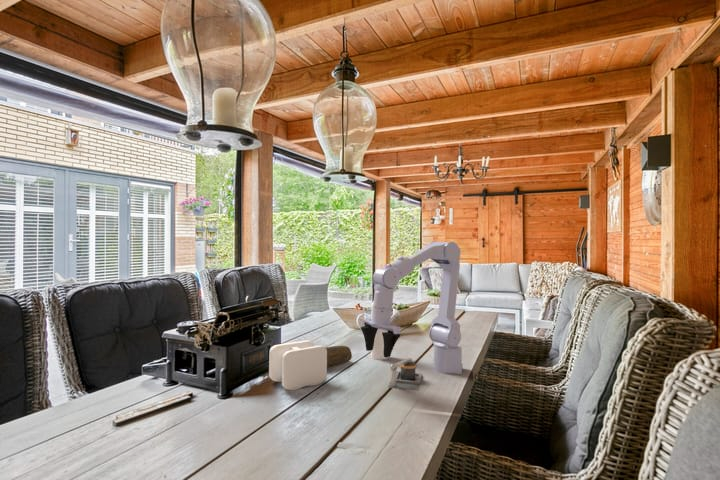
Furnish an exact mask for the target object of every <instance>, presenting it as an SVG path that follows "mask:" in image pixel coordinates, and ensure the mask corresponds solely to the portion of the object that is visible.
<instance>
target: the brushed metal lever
mask: <svg viewBox="0 0 720 480" xmlns="http://www.w3.org/2000/svg"><path fill="white" fill-rule="evenodd" d="M411 361H413V358H410V357H407V358H405V359H403V360H400V361H398V362H395V363H390V370H391V369H396V370H397V369H398V368H399V367H400V368H401V366H402V365H404V364H406V363H409V362H411Z"/></svg>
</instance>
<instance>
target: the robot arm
mask: <svg viewBox="0 0 720 480" xmlns="http://www.w3.org/2000/svg"><path fill="white" fill-rule="evenodd" d="M460 258H461V248H460V247H459V245H458V244H457V243H456V242H455V241H431V242H429V243H426V244H425V246H424V247H422V248H421V249H419V250H418V251H416V252H415V253H413V254H412V255H410V256H409V257H407V256H402V255H401V256H398V257H397V258H396V259H397V260H395V261H393V262H391V263H387V264H386V265H385V267H379V268H377V269H375V271H374V273H373V275H371V281H372V284H373V290H374V293H373V294H374V295H373V301H374V303H373V313H372V319H371V318H365V317H363V318H362V321H361V322H362V323H361V324H362V325H363V326H361V327H360V330H361V333H362V335H363V338H364V343H365V350H366V351H367V352H369V351H370V352H371V350H373V347H374V340H375V336H376V333H377V330H378V329H382V330H385V331H388V332H382V335H383V340H384V357H388V358H391V356H392V353H393V350H394V347H395V345H396V343H397V342H398V340H399V339H400V337H401V330H402V329H401V328H402V327H401V326H399V325H395V324H393V323H391V322H392V311H393V302H394V300H393V299H394V291H395V288H396V287H397V286H398V285H399V283H400V281H401V280H402V279H405V277H407V276H409V275H410V274H412V273H413V272H414V270H415V267H417V266H419V265H421V264H423V263H425V262H426V261H428V260H431V261H433V262H434V263H435V264H437V265H439V267H440V268H441V269H442V276H441V284H440V285H441V286H440V293H439V294H440V295H439V304H438V311H437V312H438V313H437V315H436V316H435V317H434V318H433V319H432V321H431V326H430V328H429V331H428V336H429V338H430V340H431V341H432V344H433V370H434V371H435V372H438V373H441V374H456V375H462V373H463V372H462V370H463V368H464V366H463V363H462V361H463V360H462V359H463V355H462V354H463V353H462V352H463V351H462V348H463V347H462V346H459V344H460V342H461V340H462V333H461V324H460V323H459V322H458V320H457V319H456V317H455V315H456V305H457V296H458V295H457V294H458V287H459V279H460V278H459V277H460V268H461V267H460V266H461V265H460ZM382 327H383V328H382Z"/></svg>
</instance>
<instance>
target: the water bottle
mask: <svg viewBox="0 0 720 480" xmlns="http://www.w3.org/2000/svg"><path fill="white" fill-rule="evenodd" d="M373 303H374V300H373V301H372V302H371V305H370V309H371V314H370V315H371V316H370V317H371V318H370V319H372V313H373ZM382 328H383V327H382ZM382 332H388V331H385V330H382V329H378V330H377V333H376V336H375V340H374V347H373V350H371V351H370V358H371V359H373V360H378V361H379V360H380V361H381V360H387V359H388V358H389V357H384V340H383V335H382Z"/></svg>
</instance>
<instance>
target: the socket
mask: <svg viewBox="0 0 720 480" xmlns="http://www.w3.org/2000/svg"><path fill="white" fill-rule="evenodd" d="M422 377H423V373H419V372H415V380H414V381H410V380H401V370H400V371H399V370H398V371H397V369H391V368H390V381H389V382H388V383H389V384H388V386H387V388H389V389H399V390H407V391H408V390H409V391H419V390H420V386H421V381H422Z"/></svg>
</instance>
